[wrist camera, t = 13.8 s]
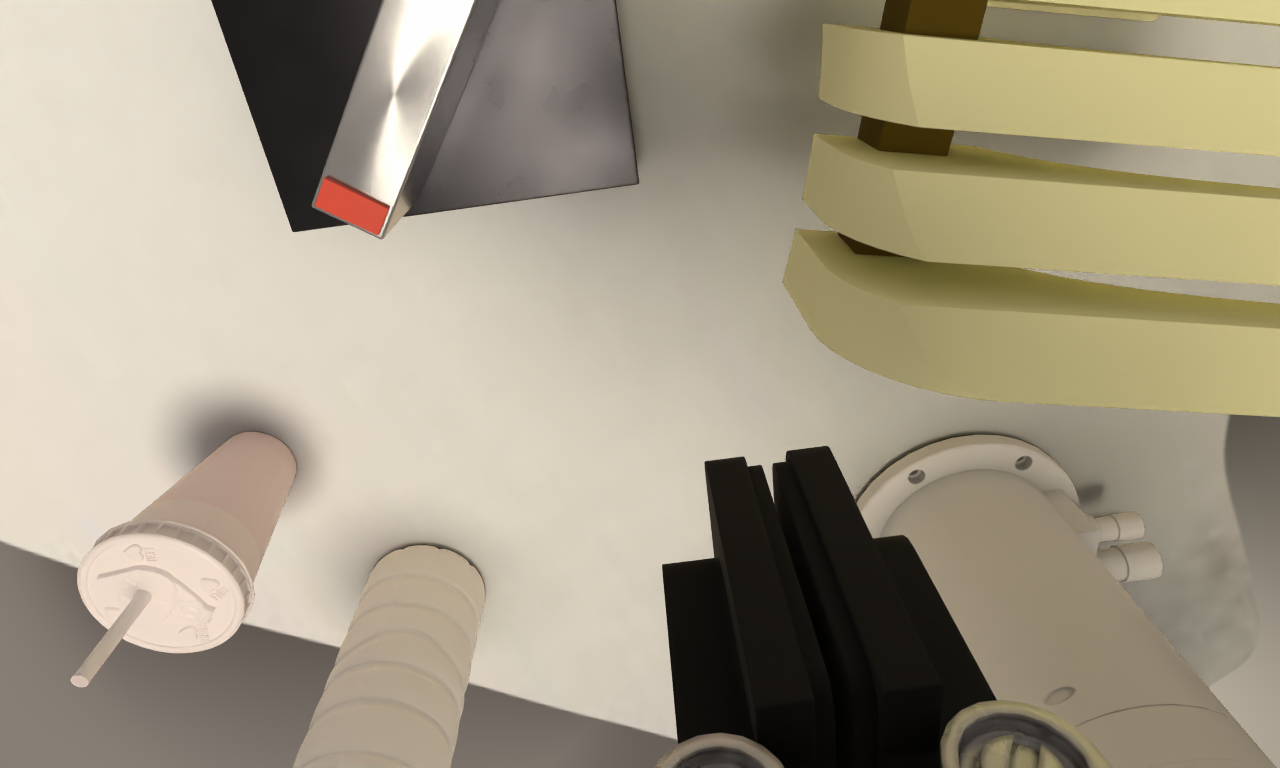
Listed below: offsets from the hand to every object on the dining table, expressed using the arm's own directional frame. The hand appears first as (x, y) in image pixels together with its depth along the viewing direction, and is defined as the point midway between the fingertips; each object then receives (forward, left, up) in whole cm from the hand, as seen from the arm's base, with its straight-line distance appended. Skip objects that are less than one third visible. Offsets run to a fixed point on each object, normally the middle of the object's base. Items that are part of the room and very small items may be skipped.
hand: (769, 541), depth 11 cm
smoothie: (+22, +12, -25) cm, 36 cm away
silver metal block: (+8, -5, -22) cm, 24 cm away
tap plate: (+8, -5, -25) cm, 27 cm away
